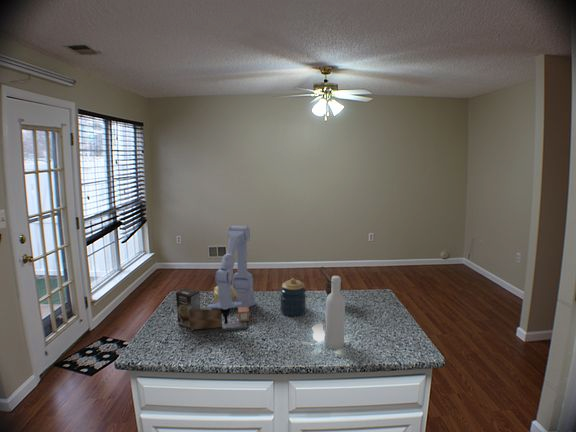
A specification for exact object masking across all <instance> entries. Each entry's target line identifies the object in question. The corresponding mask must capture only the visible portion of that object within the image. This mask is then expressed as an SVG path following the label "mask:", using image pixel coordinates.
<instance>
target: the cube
mask: <svg viewBox="0 0 576 432" xmlns="http://www.w3.org/2000/svg"><path fill="white" fill-rule="evenodd" d="M249 308H250V307H249ZM249 308H248V307H242V308H239V307H238V308H237V313H238V314H237V315H238V323H241V322H249V321H250V309H249ZM240 321H241V322H240Z"/></svg>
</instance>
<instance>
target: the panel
mask: <svg viewBox="0 0 576 432" xmlns="http://www.w3.org/2000/svg"><path fill="white" fill-rule="evenodd" d="M222 316H223V314H222V313H221V309H220V308H215V309H211V310H209V307H202V308H201V307H200V309H189V317H190V328H189V330H192V331H193V329H203V328H213V327H222V324H223V317H222Z"/></svg>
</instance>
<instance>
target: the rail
mask: <svg viewBox="0 0 576 432" xmlns="http://www.w3.org/2000/svg"><path fill="white" fill-rule="evenodd" d="M247 329H248V323H247V321H243V322H236V323H235V322H233V323H228V324H225V323H224V324H223V323H222V327H213V328H203V329H192V334H193V335H196V334H206V333H207V334H208V333H218V332H229V331H239V330H247Z"/></svg>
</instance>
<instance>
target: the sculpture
mask: <svg viewBox="0 0 576 432" xmlns="http://www.w3.org/2000/svg"><path fill="white" fill-rule="evenodd" d="M213 298H214V302H215V303H219V296H218V286H217V285H216V286H214V288H213ZM231 299H232V302H236V291H235V289H234V288H233V286H232V284H231Z"/></svg>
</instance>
